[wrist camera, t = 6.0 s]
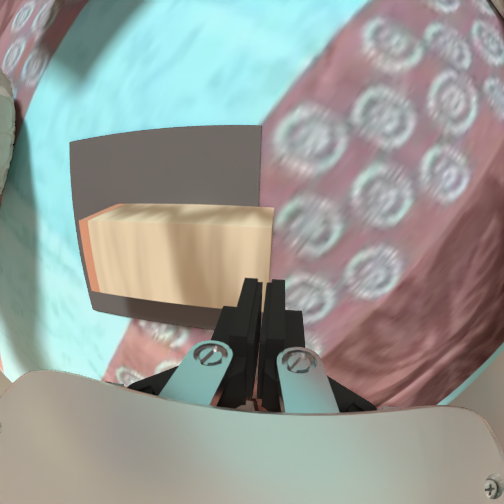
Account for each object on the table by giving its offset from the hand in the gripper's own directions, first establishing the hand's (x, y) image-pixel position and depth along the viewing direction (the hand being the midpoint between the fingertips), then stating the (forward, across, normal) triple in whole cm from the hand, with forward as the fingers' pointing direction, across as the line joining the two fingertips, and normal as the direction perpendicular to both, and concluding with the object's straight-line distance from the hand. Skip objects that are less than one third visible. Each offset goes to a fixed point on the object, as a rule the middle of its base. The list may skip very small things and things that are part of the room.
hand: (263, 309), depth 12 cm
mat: (+9, +9, 0) cm, 13 cm away
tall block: (+6, 0, 0) cm, 6 cm away
